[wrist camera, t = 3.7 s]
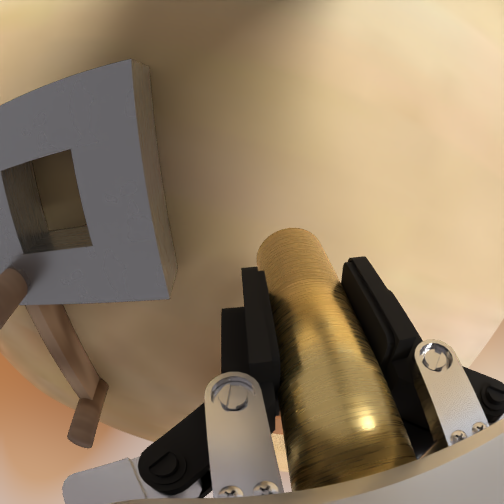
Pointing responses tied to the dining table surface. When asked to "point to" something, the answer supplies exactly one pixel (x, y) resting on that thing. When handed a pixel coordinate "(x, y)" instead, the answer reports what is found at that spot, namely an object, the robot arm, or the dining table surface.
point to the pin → (326, 371)
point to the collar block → (88, 190)
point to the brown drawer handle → (60, 355)
